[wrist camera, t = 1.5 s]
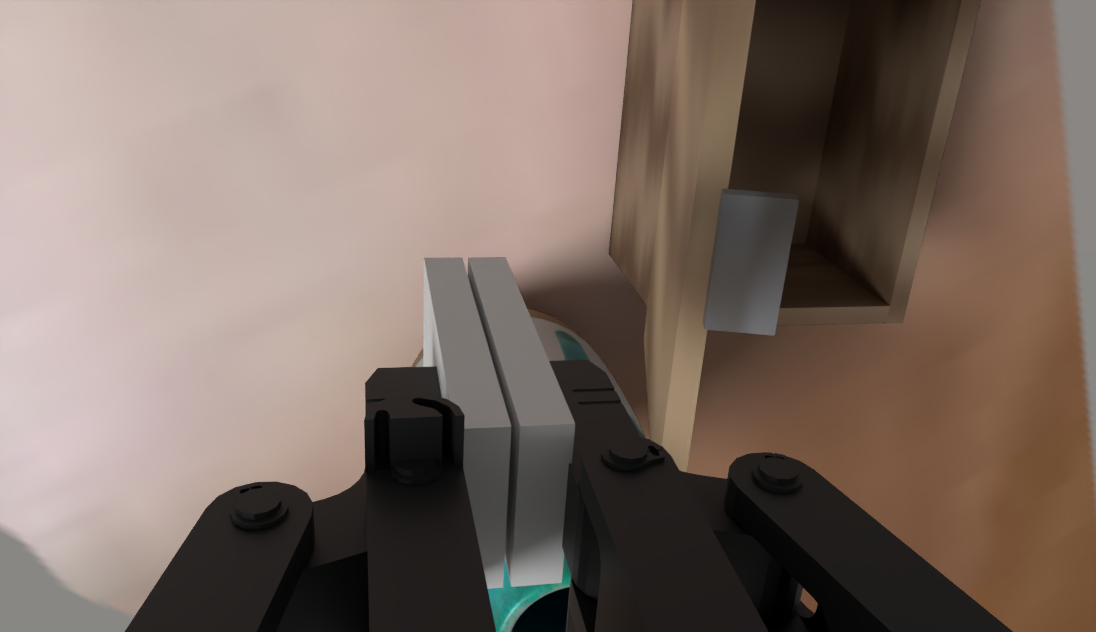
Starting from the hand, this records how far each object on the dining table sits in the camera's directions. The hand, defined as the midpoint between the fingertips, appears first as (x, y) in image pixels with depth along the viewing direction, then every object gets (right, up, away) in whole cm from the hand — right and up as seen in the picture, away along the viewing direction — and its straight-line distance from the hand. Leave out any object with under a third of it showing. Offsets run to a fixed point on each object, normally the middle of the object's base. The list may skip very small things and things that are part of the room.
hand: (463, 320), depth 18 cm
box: (+11, +10, +25) cm, 29 cm away
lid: (+8, +4, +10) cm, 13 cm away
